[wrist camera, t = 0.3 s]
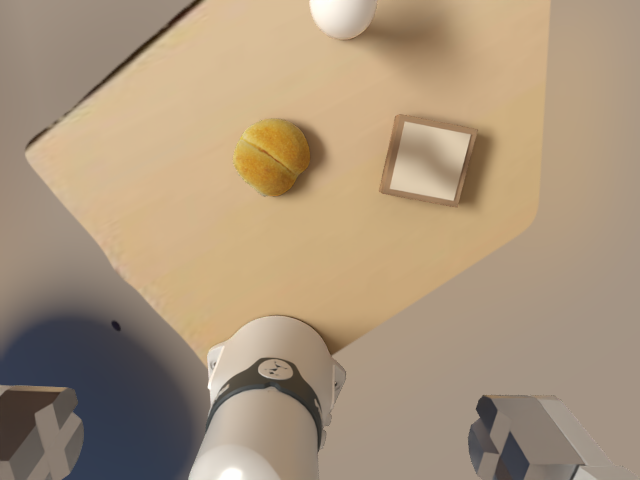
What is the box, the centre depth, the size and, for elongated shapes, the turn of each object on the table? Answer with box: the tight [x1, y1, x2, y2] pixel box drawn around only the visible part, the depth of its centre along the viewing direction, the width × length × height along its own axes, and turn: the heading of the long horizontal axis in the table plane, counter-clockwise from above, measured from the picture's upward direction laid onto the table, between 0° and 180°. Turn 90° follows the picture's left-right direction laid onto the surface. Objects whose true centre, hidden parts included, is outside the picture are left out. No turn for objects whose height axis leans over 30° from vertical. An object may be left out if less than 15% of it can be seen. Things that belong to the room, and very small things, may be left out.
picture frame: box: [379, 114, 478, 207], centre depth 46 cm, size 9×9×3 cm
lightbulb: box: [309, 0, 377, 40], centre depth 39 cm, size 6×6×11 cm
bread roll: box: [233, 119, 310, 196], centre depth 46 cm, size 8×9×4 cm
